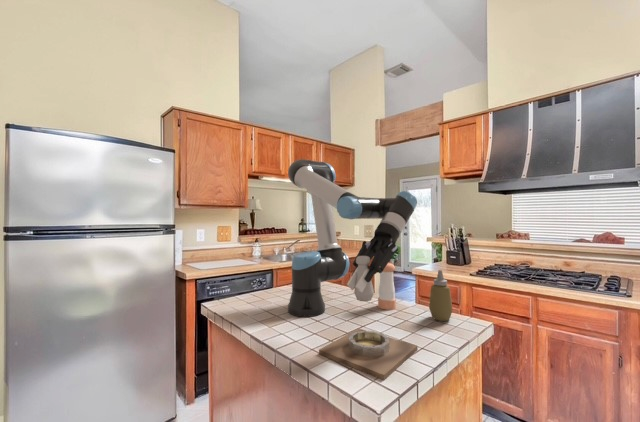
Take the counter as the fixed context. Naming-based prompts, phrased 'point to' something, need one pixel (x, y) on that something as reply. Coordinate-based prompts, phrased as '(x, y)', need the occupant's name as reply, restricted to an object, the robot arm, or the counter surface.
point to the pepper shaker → (387, 288)
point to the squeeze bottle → (440, 299)
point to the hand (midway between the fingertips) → (354, 288)
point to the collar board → (370, 362)
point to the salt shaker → (362, 266)
